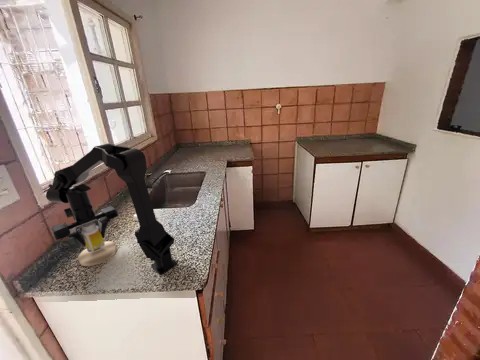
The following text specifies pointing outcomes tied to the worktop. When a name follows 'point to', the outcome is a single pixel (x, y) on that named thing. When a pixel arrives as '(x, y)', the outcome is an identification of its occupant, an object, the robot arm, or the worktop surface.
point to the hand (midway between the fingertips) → (94, 241)
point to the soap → (136, 217)
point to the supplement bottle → (92, 237)
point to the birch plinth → (97, 255)
